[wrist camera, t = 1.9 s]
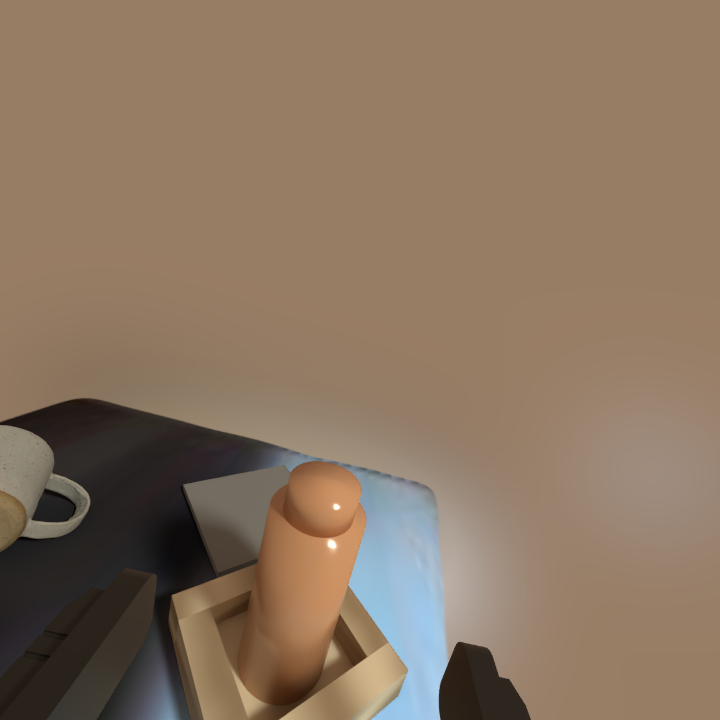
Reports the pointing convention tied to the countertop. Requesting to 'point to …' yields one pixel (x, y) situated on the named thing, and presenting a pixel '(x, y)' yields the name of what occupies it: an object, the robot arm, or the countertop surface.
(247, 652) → the peach capped cylinder
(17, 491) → the ceramic mug
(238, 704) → the holder
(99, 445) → the countertop surface
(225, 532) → the mat
